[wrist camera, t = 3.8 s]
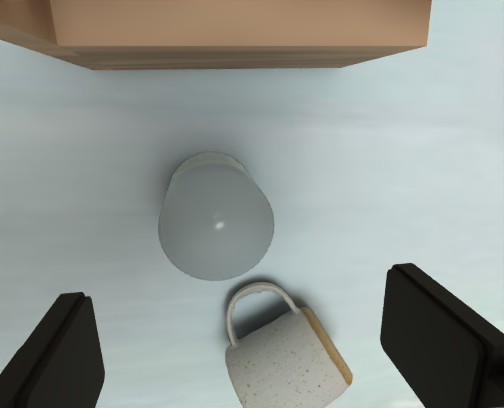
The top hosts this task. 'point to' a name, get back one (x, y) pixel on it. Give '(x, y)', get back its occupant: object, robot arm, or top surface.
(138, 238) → the top surface
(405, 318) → the robot arm
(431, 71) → the top surface
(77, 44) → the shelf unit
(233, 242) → the grey cylinder
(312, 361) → the ceramic mug
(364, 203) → the top surface
